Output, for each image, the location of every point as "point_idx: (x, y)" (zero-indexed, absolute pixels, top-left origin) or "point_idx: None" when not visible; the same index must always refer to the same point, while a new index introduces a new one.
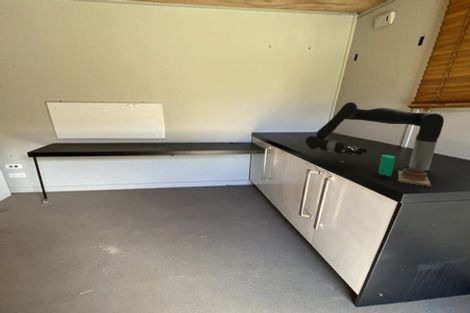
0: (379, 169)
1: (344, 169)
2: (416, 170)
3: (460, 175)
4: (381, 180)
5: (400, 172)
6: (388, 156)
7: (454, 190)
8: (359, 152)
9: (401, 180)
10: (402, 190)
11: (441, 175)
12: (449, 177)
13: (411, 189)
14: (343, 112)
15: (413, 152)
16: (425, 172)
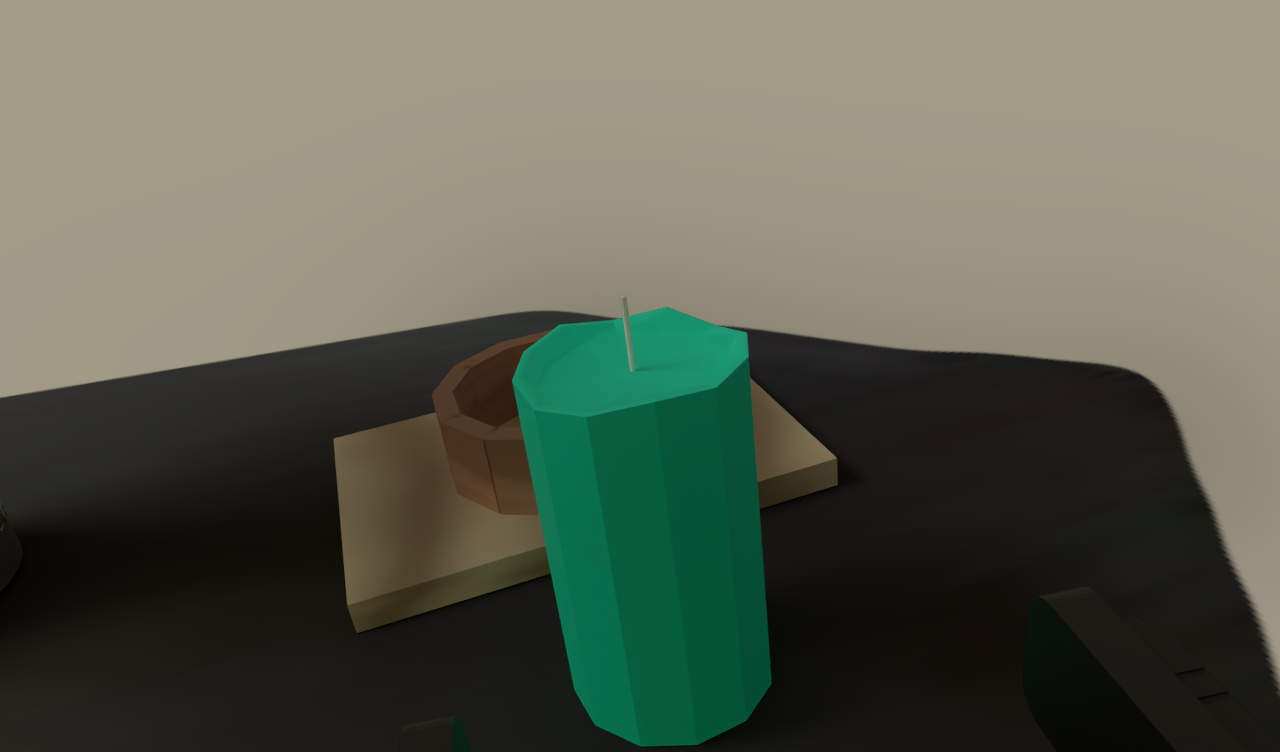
0: (743, 649)
1: None
2: (455, 399)
3: (28, 405)
4: (1041, 561)
5: (466, 553)
6: (633, 360)
7: (604, 319)
8: (1176, 659)
9: (824, 451)
10: (1079, 389)
11: (142, 443)
12: (182, 409)
13: (948, 382)
14: None
15: None
16: (502, 345)
